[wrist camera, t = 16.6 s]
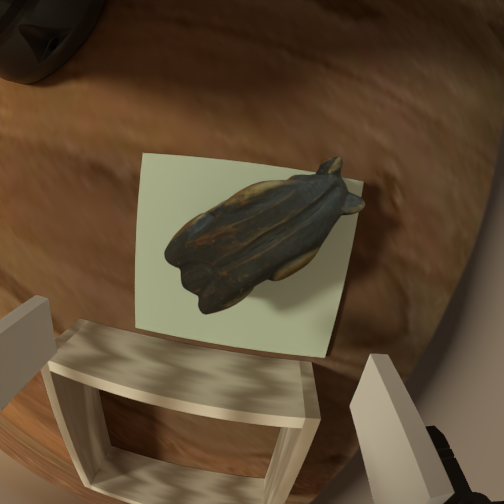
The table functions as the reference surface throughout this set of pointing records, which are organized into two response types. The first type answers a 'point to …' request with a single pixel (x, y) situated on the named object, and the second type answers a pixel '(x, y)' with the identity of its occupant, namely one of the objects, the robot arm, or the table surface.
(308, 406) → the frame
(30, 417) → the table surface
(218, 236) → the sculpture
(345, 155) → the table surface
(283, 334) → the pad
